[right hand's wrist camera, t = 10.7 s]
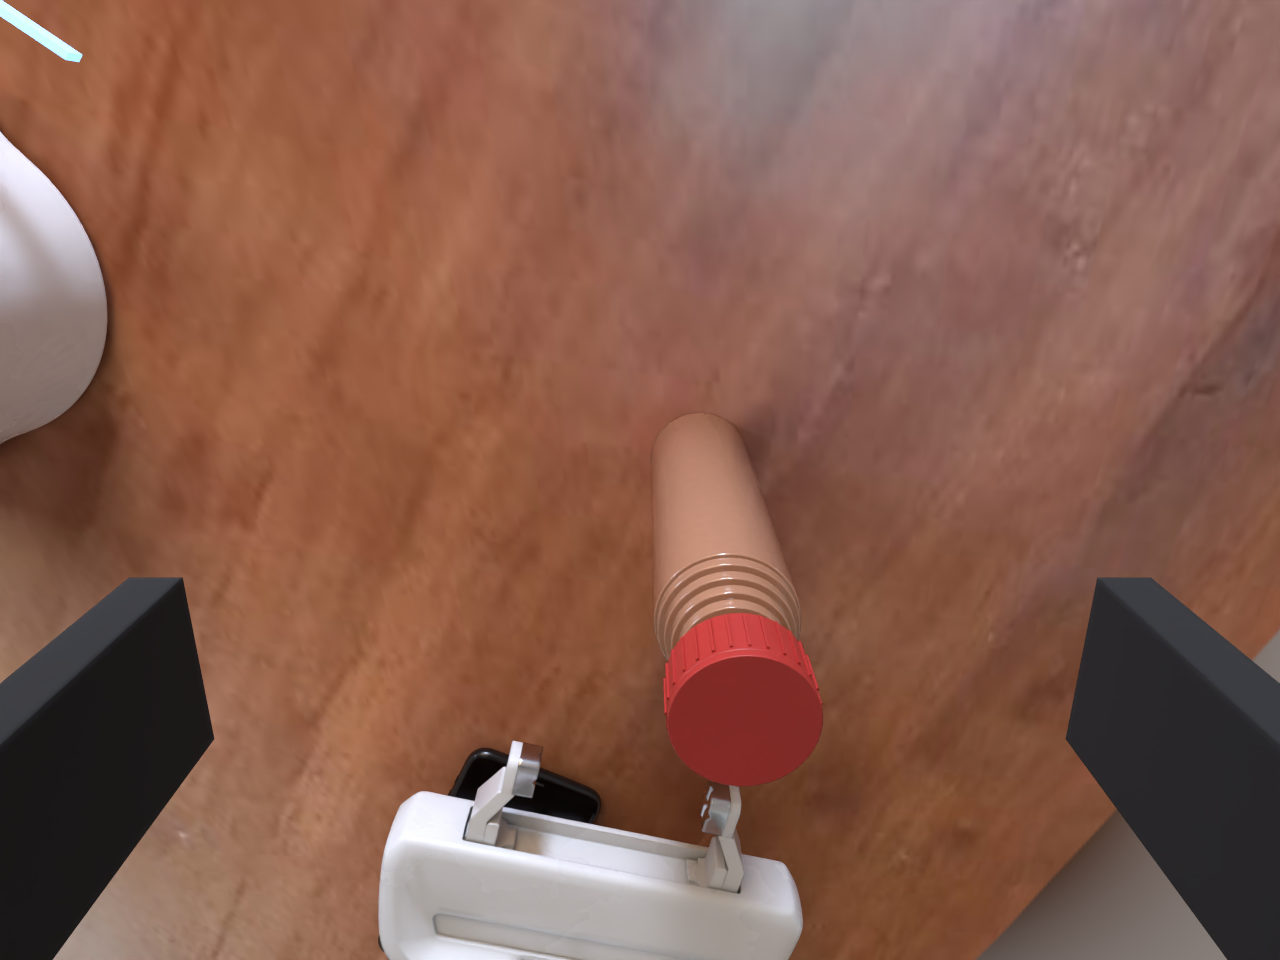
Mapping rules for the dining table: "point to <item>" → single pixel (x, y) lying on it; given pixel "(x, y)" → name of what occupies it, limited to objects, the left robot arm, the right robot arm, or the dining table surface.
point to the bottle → (712, 533)
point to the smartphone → (548, 796)
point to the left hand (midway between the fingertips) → (626, 771)
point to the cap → (741, 700)
